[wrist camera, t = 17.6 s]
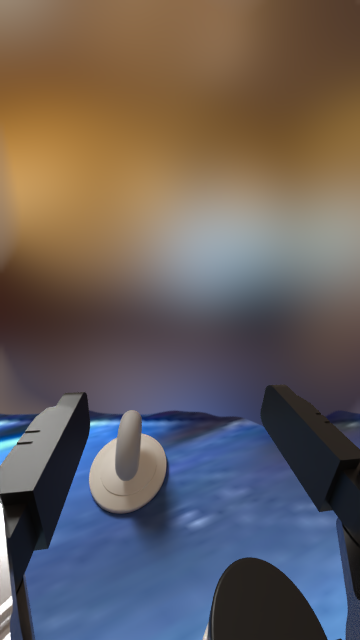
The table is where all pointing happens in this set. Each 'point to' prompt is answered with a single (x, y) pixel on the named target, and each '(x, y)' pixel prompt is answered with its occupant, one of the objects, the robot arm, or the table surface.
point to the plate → (135, 491)
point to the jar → (260, 606)
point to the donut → (128, 446)
